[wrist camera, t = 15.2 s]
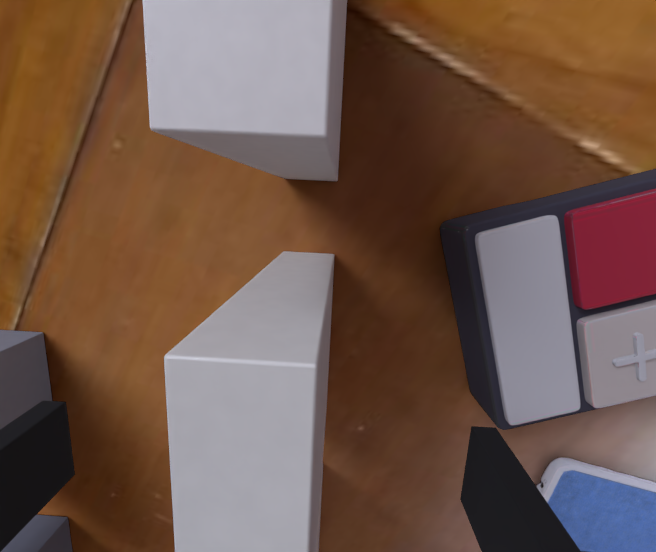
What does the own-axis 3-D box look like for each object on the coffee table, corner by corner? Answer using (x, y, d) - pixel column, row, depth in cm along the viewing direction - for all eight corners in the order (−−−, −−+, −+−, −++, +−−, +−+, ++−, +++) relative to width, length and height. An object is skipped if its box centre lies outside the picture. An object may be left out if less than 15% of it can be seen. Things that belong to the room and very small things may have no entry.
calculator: (814, 372, 17) (505, 443, 17) (716, 339, 21) (470, 396, 22) (821, 138, 15) (468, 227, 15) (710, 152, 19) (437, 222, 20)
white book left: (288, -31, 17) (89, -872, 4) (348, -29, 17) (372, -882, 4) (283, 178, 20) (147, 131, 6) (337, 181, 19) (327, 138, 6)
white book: (283, 251, 20) (162, 355, 7) (334, 253, 20) (317, 365, 7) (279, 405, 23) (183, 721, 9) (326, 408, 22) (301, 733, 9)
